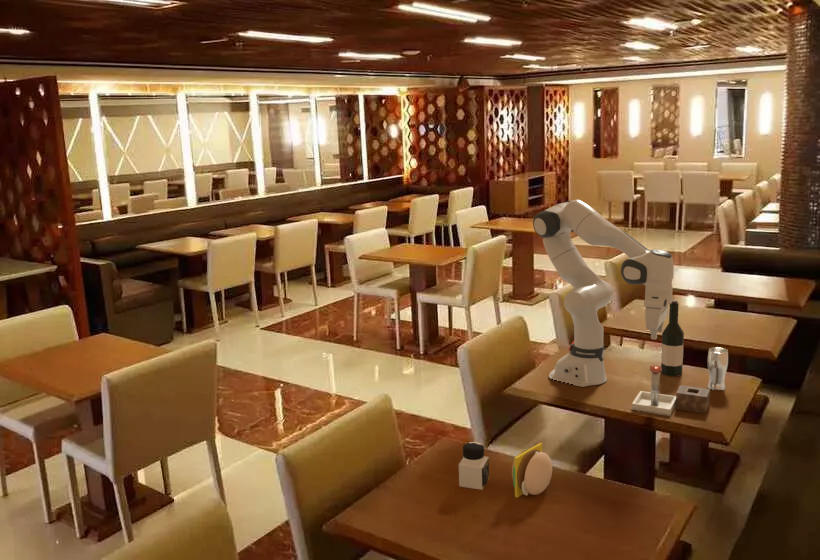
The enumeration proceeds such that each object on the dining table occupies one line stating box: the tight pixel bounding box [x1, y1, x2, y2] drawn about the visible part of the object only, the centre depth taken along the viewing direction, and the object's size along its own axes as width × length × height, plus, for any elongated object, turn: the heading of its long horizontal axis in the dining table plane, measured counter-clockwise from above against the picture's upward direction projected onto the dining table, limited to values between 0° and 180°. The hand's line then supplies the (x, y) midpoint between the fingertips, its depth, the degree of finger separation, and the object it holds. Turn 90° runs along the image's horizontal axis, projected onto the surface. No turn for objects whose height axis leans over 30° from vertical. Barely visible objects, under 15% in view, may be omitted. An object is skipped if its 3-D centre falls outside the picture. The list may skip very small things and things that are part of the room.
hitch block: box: [675, 384, 711, 414], centre depth 252 cm, size 10×8×6 cm
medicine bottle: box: [458, 441, 490, 491], centre depth 206 cm, size 7×7×12 cm
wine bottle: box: [660, 299, 685, 377], centre depth 283 cm, size 8×8×30 cm
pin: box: [649, 364, 662, 406], centre depth 253 cm, size 4×4×14 cm
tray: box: [631, 390, 676, 417], centre depth 254 cm, size 13×13×2 cm
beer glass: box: [707, 346, 729, 391], centre depth 267 cm, size 7×7×15 cm
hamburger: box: [511, 442, 553, 498], centre depth 200 cm, size 12×8×12 cm
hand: (656, 335), depth 249 cm, fingers open, 8 cm apart
